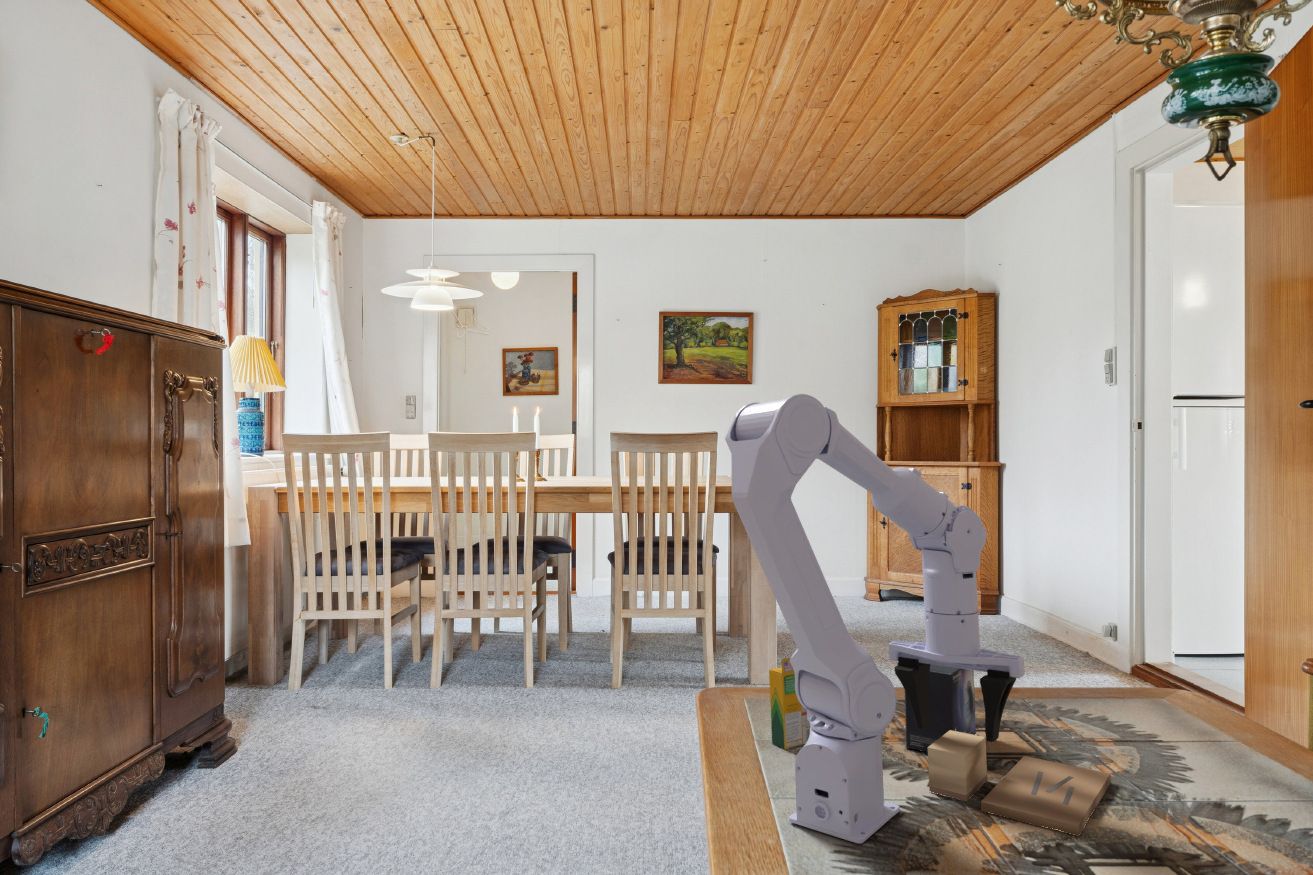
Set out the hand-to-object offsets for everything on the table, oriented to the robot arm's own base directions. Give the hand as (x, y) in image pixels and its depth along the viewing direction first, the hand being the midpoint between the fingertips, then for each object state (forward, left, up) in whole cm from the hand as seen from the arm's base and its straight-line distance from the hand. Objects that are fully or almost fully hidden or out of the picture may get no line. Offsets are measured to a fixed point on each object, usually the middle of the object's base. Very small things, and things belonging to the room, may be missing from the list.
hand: (957, 732), depth 85 cm
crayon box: (+2, +22, -6) cm, 22 cm away
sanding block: (0, 0, -6) cm, 6 cm away
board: (+3, -8, -6) cm, 11 cm away
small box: (+13, +7, -6) cm, 16 cm away
